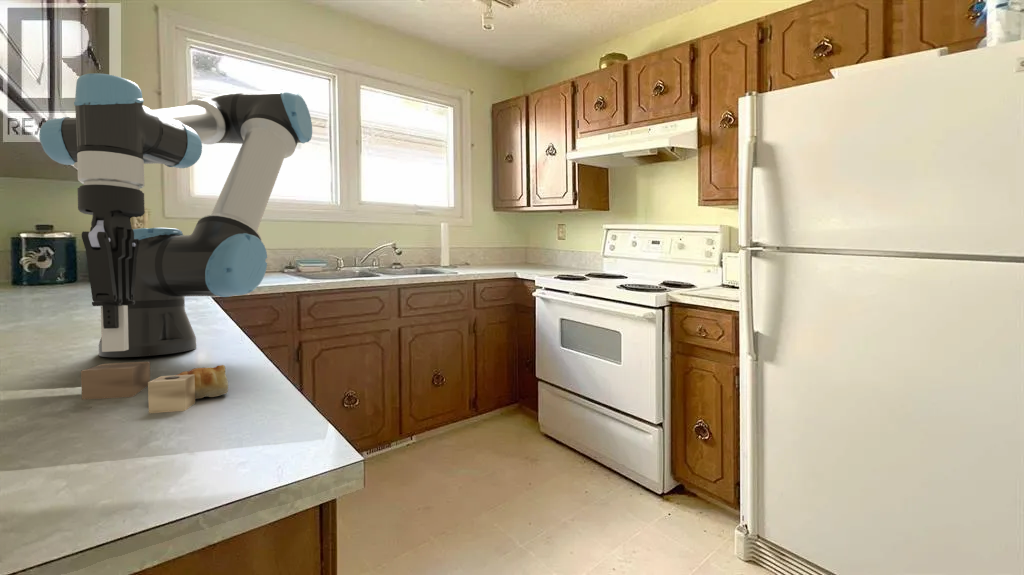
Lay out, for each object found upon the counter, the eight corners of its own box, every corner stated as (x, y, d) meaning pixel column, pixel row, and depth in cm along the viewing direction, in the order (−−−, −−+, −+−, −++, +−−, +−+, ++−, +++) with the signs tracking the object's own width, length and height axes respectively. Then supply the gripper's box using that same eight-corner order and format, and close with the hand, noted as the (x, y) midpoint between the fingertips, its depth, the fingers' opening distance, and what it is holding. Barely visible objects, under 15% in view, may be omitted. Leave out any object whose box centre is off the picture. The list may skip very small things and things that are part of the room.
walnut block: (103, 393, 75) (103, 363, 75) (150, 390, 76) (149, 361, 76) (81, 403, 69) (81, 370, 69) (132, 399, 71) (132, 368, 71)
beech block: (161, 406, 67) (160, 375, 67) (195, 403, 68) (194, 373, 68) (148, 414, 63) (147, 381, 63) (185, 411, 64) (184, 379, 64)
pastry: (149, 406, 65) (147, 378, 65) (151, 395, 71) (149, 368, 71) (231, 394, 71) (230, 368, 70) (226, 385, 76) (225, 360, 76)
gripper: (100, 193, 77) (104, 346, 77) (55, 176, 65) (59, 358, 65) (158, 196, 79) (161, 344, 80) (124, 180, 67) (128, 355, 67)
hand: (115, 350), depth 72 cm, fingers closed
